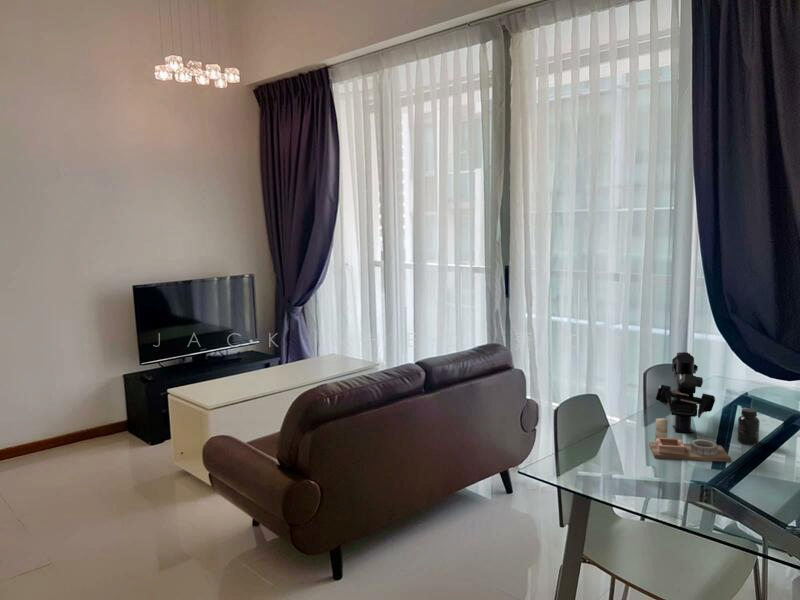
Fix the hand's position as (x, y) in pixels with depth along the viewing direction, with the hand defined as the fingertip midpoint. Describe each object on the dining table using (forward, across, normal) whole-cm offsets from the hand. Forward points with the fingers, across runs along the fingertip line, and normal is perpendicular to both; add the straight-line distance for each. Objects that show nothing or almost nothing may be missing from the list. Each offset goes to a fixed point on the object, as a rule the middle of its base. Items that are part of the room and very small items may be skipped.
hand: (685, 413), depth 214 cm
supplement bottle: (-10, +25, +16) cm, 32 cm away
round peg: (-3, -4, +18) cm, 19 cm away
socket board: (+6, +4, +13) cm, 14 cm away
